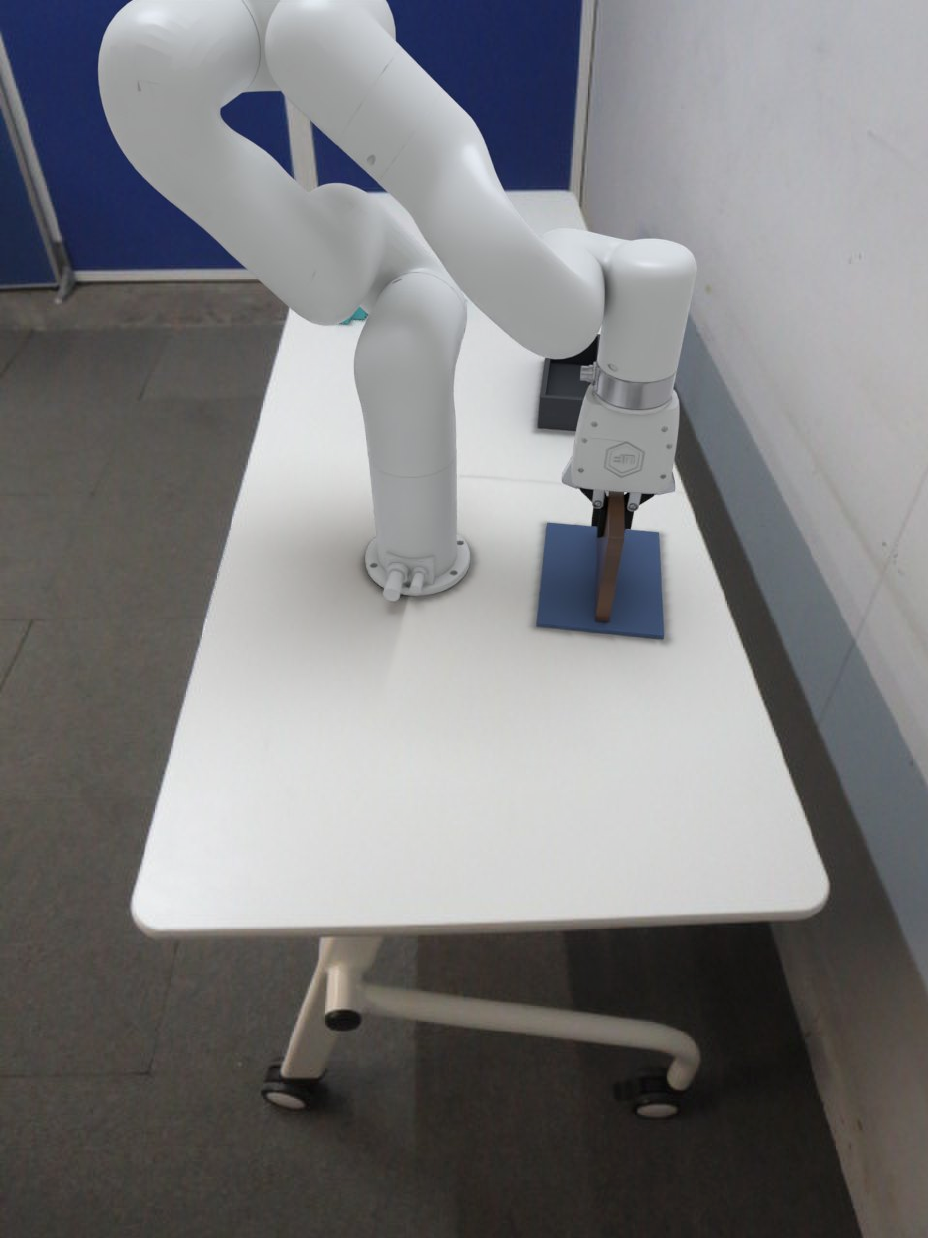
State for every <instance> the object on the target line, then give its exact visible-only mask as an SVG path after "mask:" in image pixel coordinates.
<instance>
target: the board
mask: <svg viewBox="0 0 928 1238" xmlns="http://www.w3.org/2000/svg"><path fill="white" fill-rule="evenodd" d="M605 492H606V496H607V514H606V520H605V527H604V533H603V537H601V538H597V567H596V599H595V621H606V622H609V621H610V615H611V610H612V604H613V599H614V593H615V588H616V582H617V577H618V571H619V565H620V560H621V554H622V549H623V543H624V494H625V492H615V491H605Z"/></svg>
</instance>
